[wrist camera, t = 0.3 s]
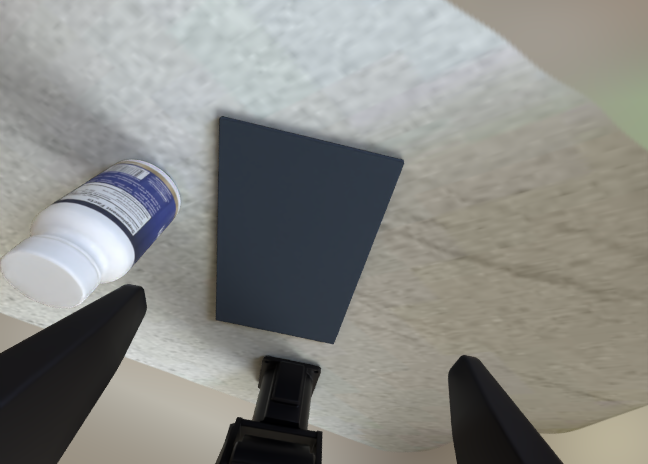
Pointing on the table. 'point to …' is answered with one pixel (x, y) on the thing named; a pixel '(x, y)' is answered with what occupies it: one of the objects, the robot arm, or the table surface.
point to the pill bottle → (92, 234)
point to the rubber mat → (294, 227)
